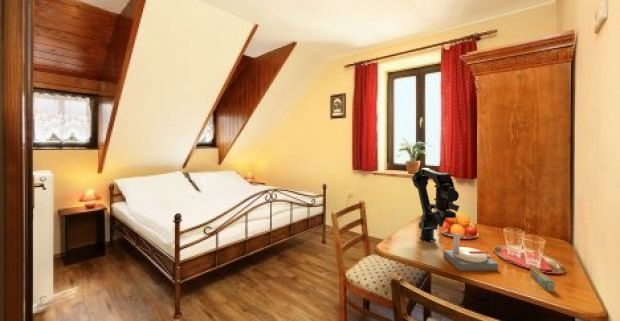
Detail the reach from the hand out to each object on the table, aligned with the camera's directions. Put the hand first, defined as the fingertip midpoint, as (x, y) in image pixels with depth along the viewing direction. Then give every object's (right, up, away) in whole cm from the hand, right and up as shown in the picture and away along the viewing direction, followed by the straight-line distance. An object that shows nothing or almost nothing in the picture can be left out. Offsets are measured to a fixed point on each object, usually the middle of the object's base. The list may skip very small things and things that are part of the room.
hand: (440, 226), depth 147 cm
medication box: (+24, -15, -34) cm, 45 cm away
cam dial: (+6, -10, -16) cm, 20 cm away
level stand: (+6, -13, -15) cm, 21 cm away
